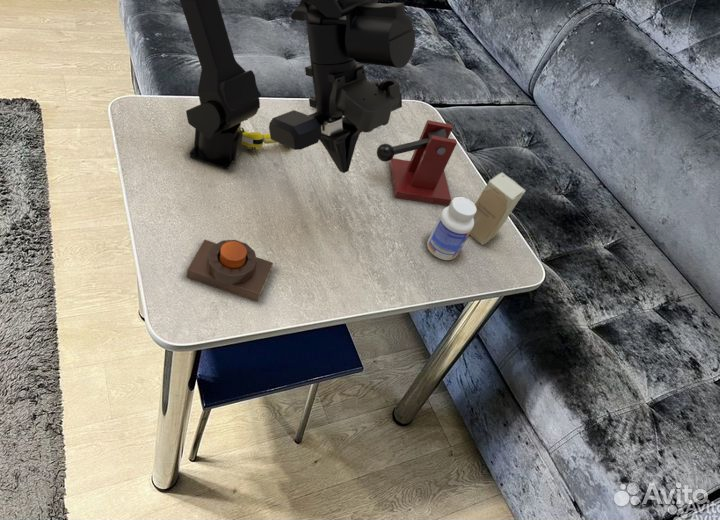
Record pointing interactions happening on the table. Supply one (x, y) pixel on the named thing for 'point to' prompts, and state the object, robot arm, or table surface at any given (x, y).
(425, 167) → the lever bracket
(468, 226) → the pill bottle
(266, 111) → the table surface
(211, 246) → the button block
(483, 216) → the box
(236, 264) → the button
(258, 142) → the yellow striped curved toy
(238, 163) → the table surface
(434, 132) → the black lever handle
